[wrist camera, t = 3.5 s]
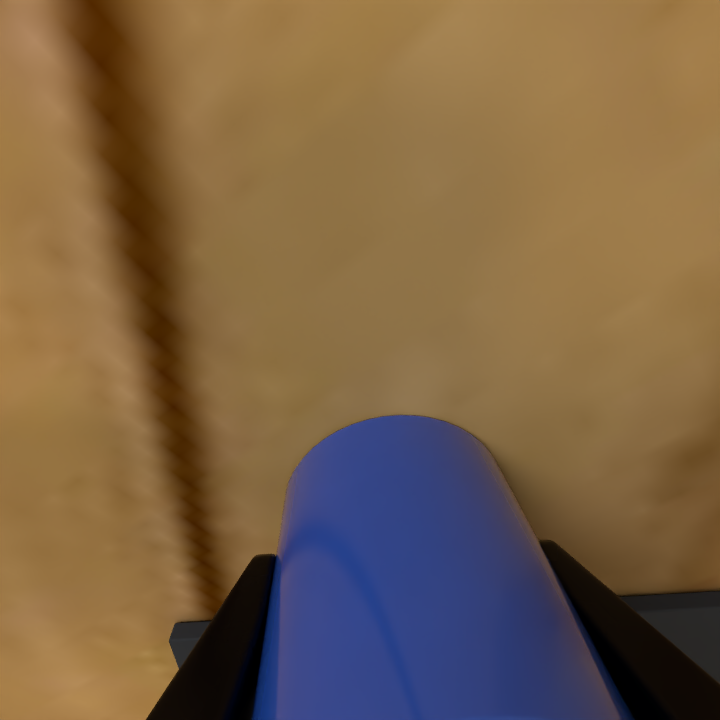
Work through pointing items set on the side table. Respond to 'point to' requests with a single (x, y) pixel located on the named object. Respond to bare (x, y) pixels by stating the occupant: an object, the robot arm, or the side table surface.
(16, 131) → the side table surface
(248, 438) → the side table surface
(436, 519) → the flask
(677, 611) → the mat
